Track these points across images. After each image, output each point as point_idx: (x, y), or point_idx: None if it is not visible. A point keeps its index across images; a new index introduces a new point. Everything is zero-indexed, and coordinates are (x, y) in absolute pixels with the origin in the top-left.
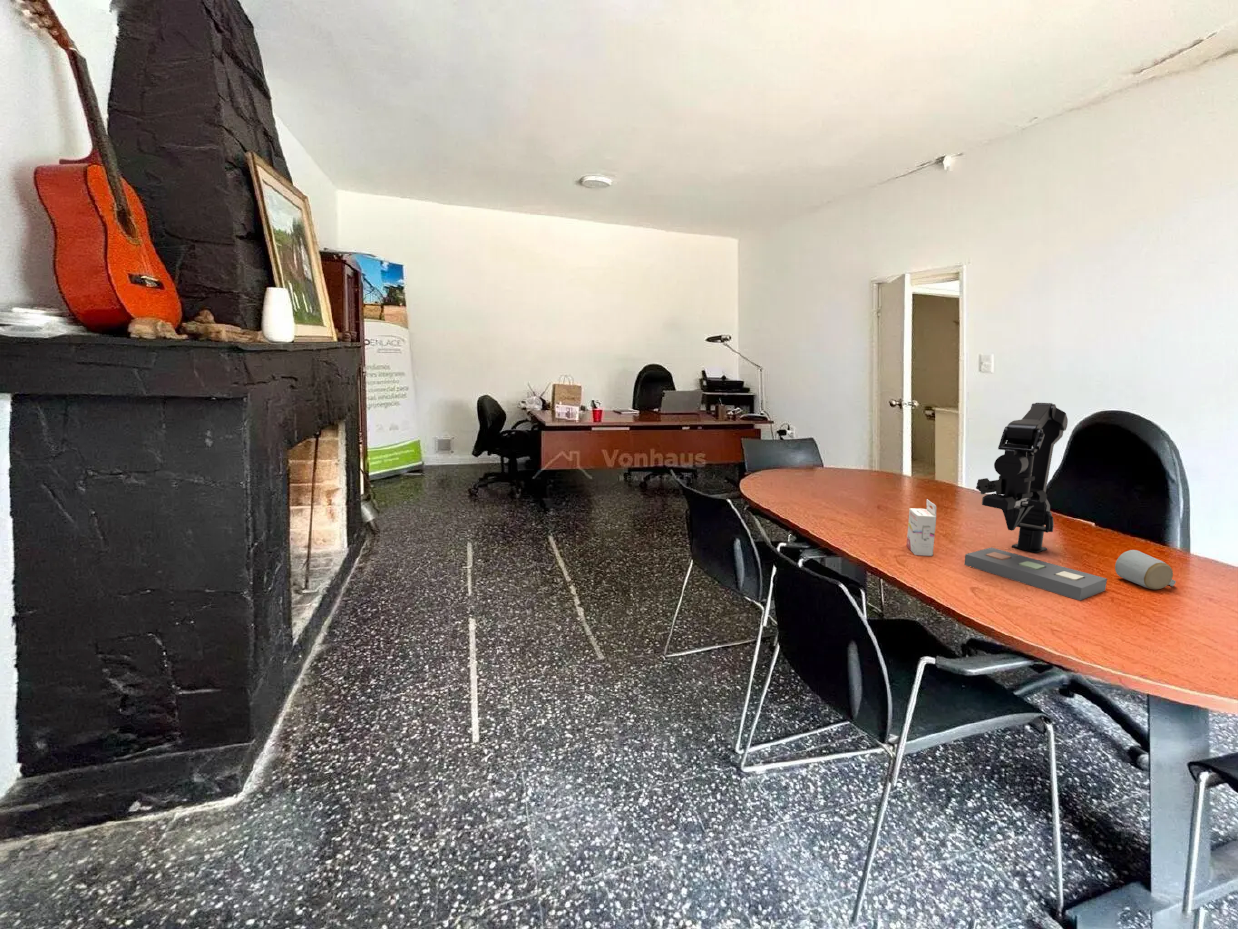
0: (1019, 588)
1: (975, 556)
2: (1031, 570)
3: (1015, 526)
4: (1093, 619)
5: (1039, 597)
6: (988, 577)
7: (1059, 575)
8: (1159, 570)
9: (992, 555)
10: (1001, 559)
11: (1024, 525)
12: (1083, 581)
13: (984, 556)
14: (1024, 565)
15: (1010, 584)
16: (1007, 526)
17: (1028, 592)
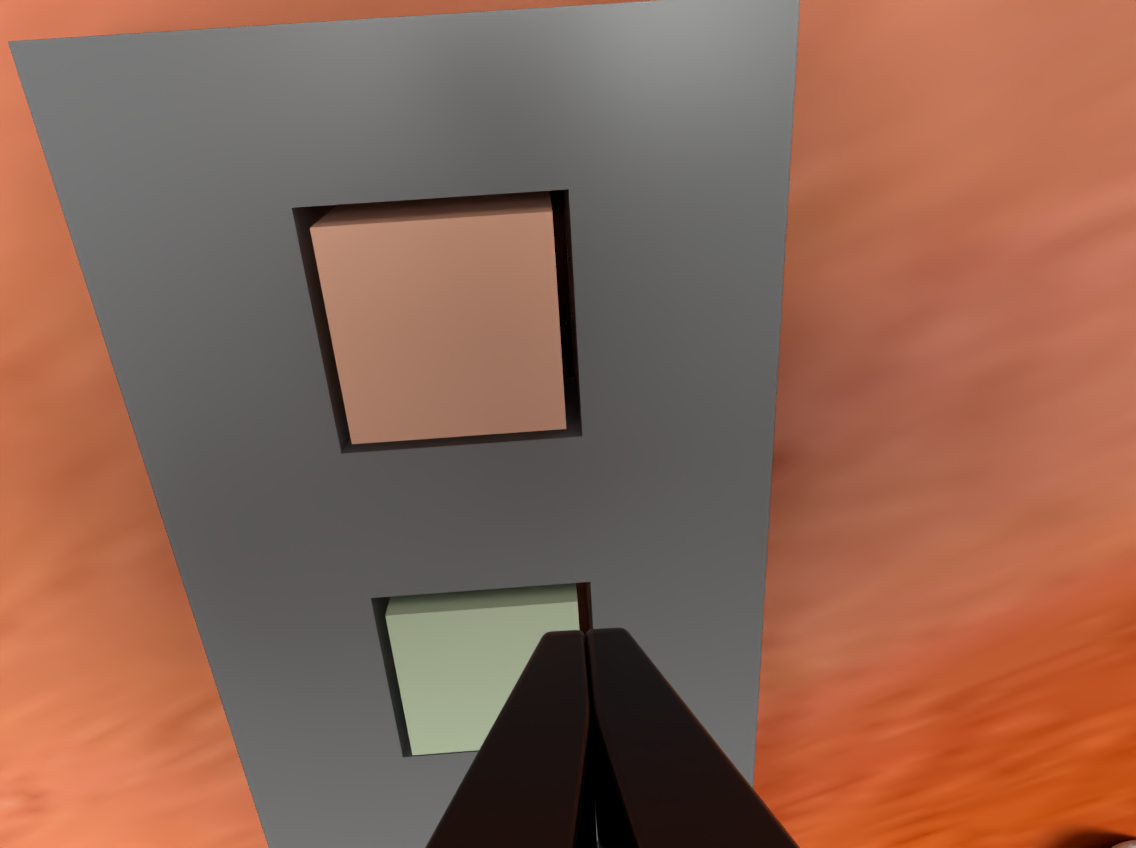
0: (122, 698)
1: (88, 197)
2: (336, 743)
3: (598, 831)
4: None
5: (116, 832)
6: (59, 446)
7: None
8: None
9: (359, 302)
10: (351, 434)
11: None
12: None
13: (234, 256)
14: (395, 661)
15: (124, 626)
16: (515, 689)
17: (120, 762)
